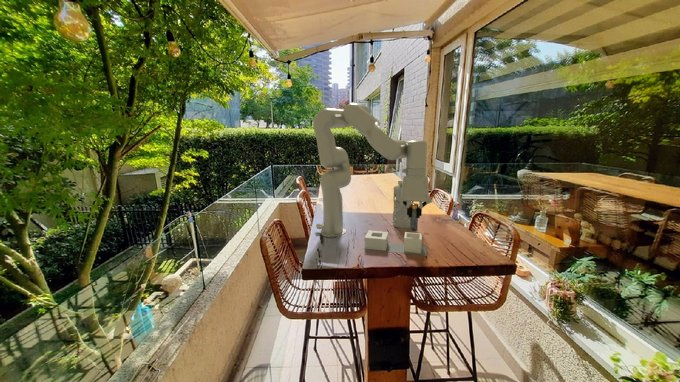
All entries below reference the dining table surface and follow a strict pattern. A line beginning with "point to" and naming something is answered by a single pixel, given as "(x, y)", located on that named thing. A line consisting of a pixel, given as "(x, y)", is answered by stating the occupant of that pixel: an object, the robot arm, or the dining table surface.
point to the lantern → (400, 209)
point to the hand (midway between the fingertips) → (414, 216)
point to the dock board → (380, 243)
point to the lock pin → (414, 217)
